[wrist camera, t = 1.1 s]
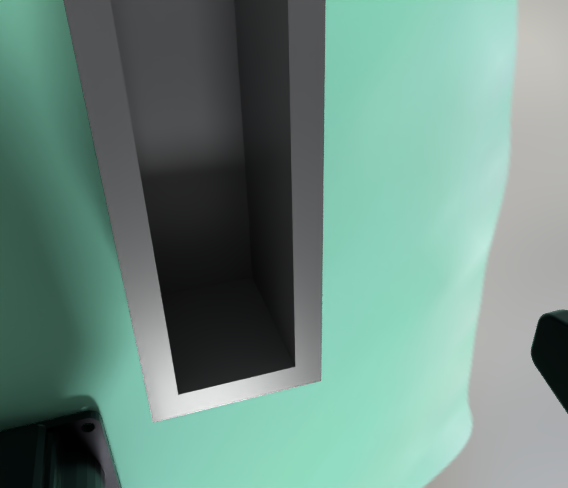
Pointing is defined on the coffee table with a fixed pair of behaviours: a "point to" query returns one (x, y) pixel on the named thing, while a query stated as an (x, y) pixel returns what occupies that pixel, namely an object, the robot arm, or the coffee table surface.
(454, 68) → the coffee table surface
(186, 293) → the chute
